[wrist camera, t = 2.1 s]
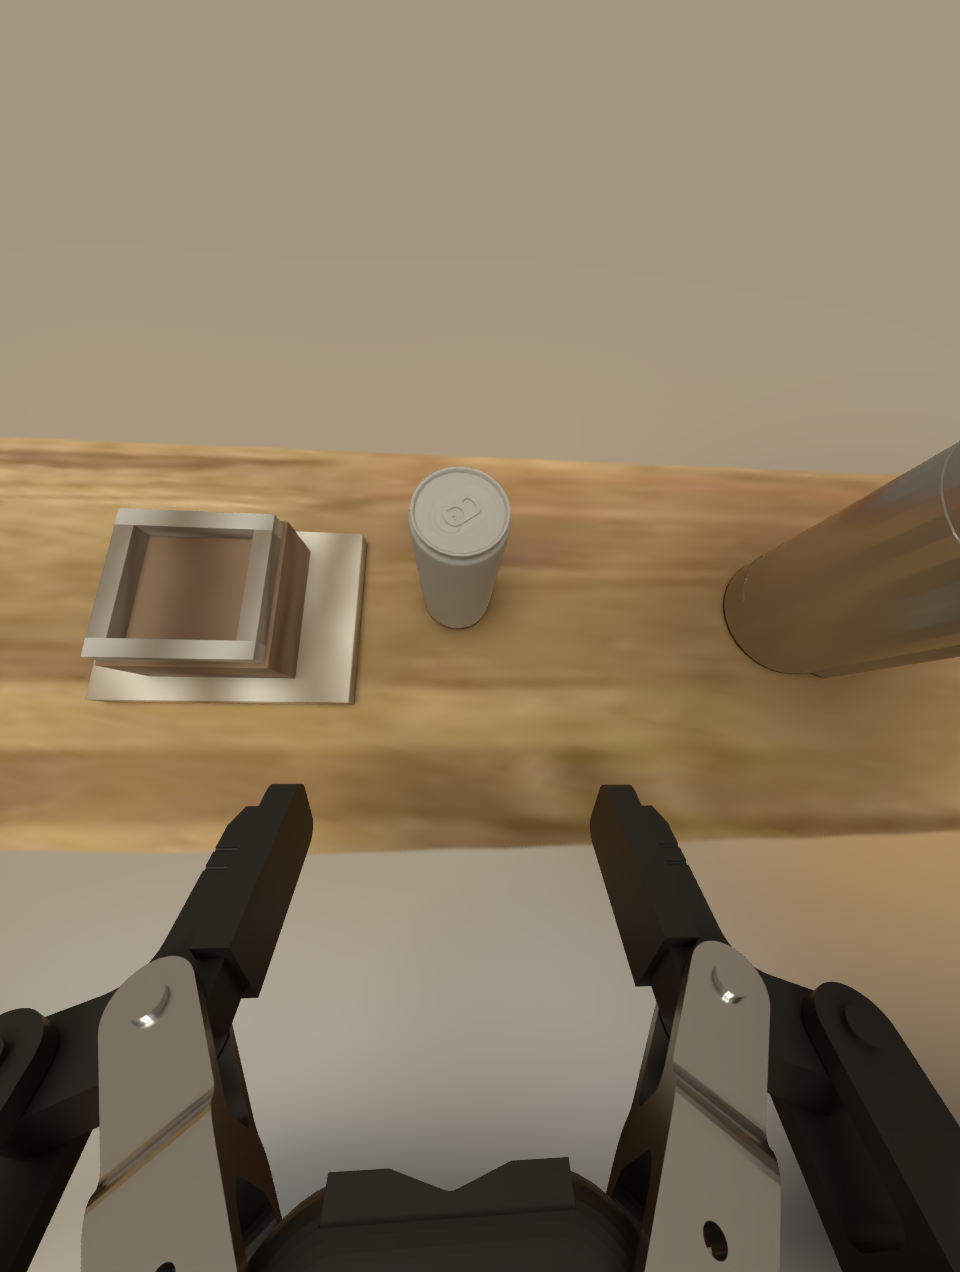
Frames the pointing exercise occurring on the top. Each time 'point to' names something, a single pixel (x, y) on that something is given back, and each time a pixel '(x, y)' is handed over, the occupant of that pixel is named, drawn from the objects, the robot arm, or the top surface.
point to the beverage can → (458, 542)
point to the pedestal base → (316, 647)
